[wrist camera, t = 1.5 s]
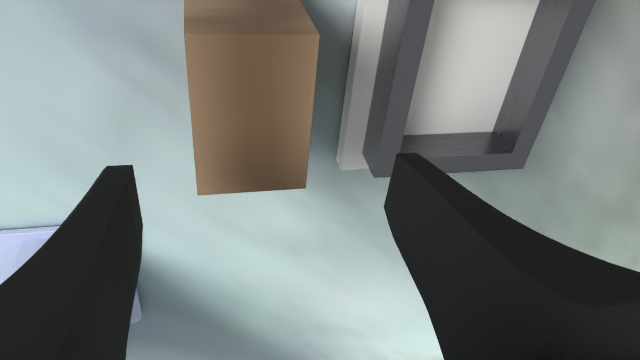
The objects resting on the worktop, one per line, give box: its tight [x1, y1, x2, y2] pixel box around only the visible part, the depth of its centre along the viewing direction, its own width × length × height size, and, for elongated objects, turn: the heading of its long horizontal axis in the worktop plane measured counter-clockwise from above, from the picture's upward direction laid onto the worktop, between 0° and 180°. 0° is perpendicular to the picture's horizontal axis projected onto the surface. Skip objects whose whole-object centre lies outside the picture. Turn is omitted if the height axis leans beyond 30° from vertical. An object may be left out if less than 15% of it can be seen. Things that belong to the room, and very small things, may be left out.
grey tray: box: [336, 0, 595, 178], centre depth 22 cm, size 10×12×3 cm
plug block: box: [184, 0, 320, 195], centre depth 18 cm, size 4×6×6 cm, turn 175°
